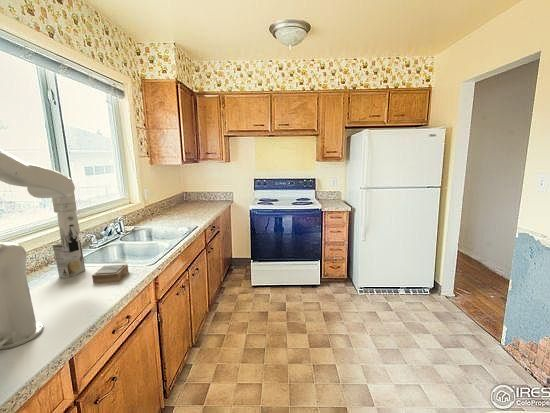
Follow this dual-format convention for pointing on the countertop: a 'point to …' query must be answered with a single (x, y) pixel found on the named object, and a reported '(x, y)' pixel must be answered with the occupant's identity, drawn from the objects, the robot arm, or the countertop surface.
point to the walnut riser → (110, 274)
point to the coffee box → (67, 263)
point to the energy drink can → (67, 254)
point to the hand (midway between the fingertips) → (71, 249)
